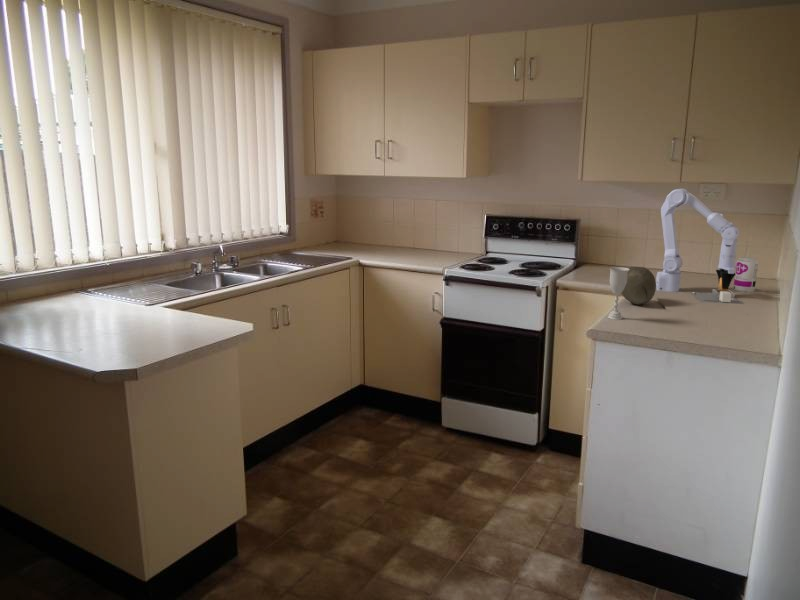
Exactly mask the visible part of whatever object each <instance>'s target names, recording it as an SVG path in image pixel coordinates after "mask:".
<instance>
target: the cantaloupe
mask: <svg viewBox="0 0 800 600" xmlns="http://www.w3.org/2000/svg"><path fill="white" fill-rule="evenodd" d="M627 268H628V269H629V271H628V275H627V284H626V286H625V288H624V290H623V291H622V293H621V294H620V295H622V296H623V297H624V298H625V300H627V302H629V303H632V304H634V305H637V306H642V305H645V304H647V303H649V302H650V301H651V300H652V299H653V297H654V296H655V294H656V291H657V289H656V277H655V275H654V274H653V272H651V270H650V269H648V268H647V267H644V266H630V267H627Z"/></svg>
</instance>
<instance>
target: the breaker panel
mask: <svg viewBox="0 0 800 600" xmlns="http://www.w3.org/2000/svg"><path fill="white" fill-rule="evenodd" d="M689 293H690V295H692V296H693V297H694V298H695V299H696V300H698V301H699V302H700V303H714V304H735V305H744V303H743V302H742V301H741V300H739V299H737V298H736V297H735V296H734V298H731V301H730V302H722V301H720V300H719V297H715V296H714V295H712V293H706V292H705V293H704V292H702V293H701V292H696V291H692V292H689Z"/></svg>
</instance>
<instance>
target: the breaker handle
mask: <svg viewBox="0 0 800 600" xmlns="http://www.w3.org/2000/svg"><path fill="white" fill-rule="evenodd" d="M719 300H720V301H722V302H730V301H731V293H730V292H726V291H720V297H719Z"/></svg>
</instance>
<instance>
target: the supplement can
mask: <svg viewBox="0 0 800 600" xmlns="http://www.w3.org/2000/svg"><path fill="white" fill-rule="evenodd" d="M735 266H737V268H735V270H734V273H736V275H735V276H734V278H733V279H734V280H733V287H732V289H733V290H734V291H738V292H743V293H746V292H747V293H753V292H755V289H756V283H757V274H758V268H759V261H758V258H756V257H750V256H739V257H738V259H736V263H735Z"/></svg>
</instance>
